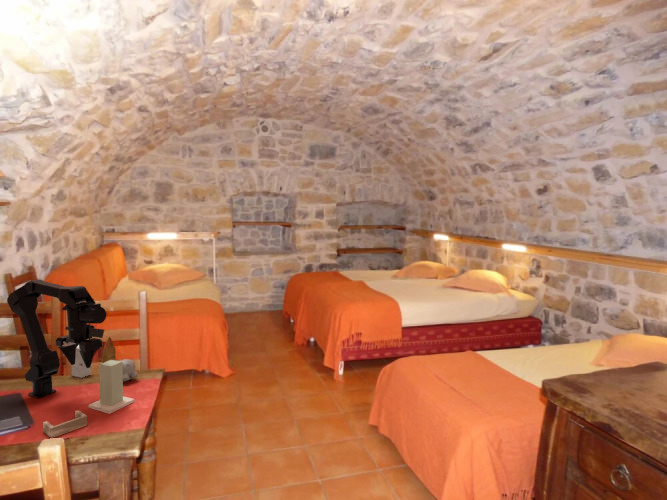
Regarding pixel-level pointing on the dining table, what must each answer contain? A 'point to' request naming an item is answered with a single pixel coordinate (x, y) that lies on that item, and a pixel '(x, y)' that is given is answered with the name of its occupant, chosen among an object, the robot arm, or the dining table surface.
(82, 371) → the skincare box
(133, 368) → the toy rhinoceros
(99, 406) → the ceramic tile
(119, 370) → the sage block
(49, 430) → the birch stall
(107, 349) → the stone tool
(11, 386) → the dining table surface
